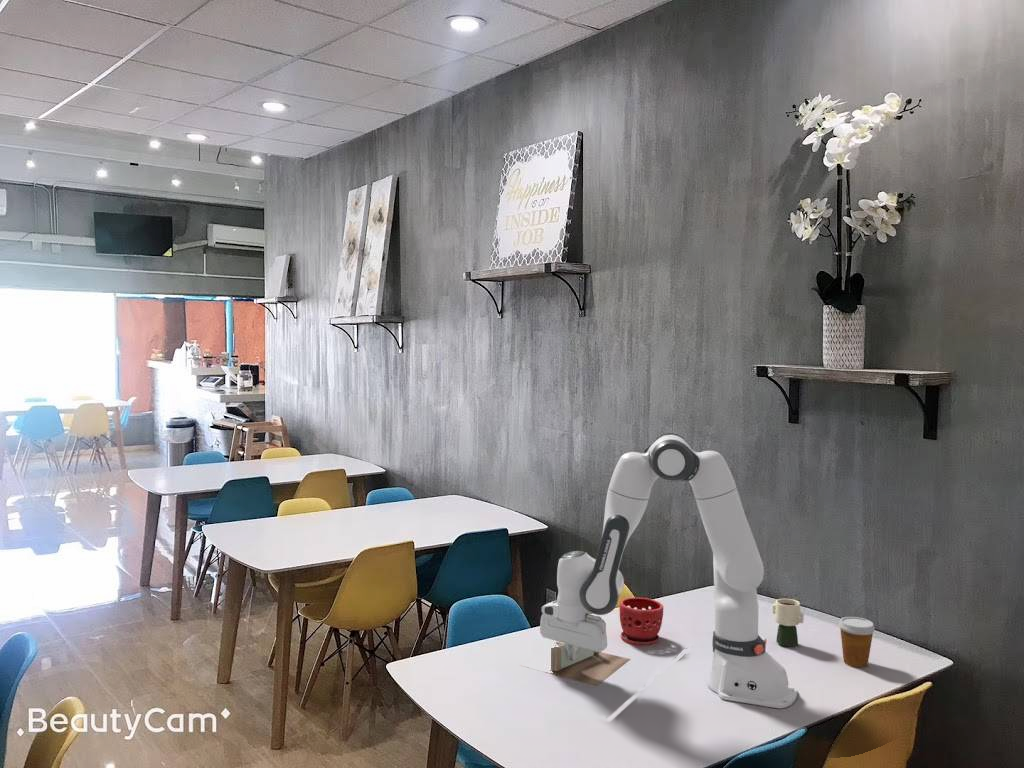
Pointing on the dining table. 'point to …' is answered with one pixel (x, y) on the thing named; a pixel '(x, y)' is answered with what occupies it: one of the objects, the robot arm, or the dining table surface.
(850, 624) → the disposable coffee cup
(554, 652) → the gate
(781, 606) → the character mug
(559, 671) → the gate base board
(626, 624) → the plant pot
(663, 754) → the dining table surface
